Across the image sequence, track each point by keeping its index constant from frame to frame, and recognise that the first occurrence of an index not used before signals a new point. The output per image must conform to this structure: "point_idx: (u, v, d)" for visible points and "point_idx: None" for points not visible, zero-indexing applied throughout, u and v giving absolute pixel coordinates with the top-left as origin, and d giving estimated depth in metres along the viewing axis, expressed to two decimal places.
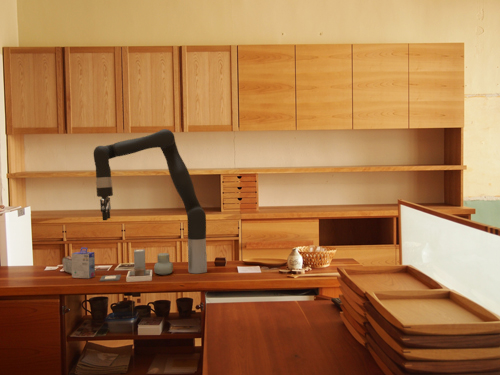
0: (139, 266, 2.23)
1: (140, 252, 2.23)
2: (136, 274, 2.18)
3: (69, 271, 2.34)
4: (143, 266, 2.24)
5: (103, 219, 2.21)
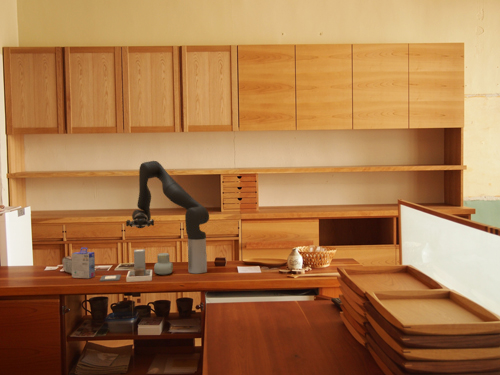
0: (139, 266, 2.23)
1: (140, 252, 2.23)
2: (136, 274, 2.18)
3: (69, 271, 2.34)
4: (143, 266, 2.24)
5: None
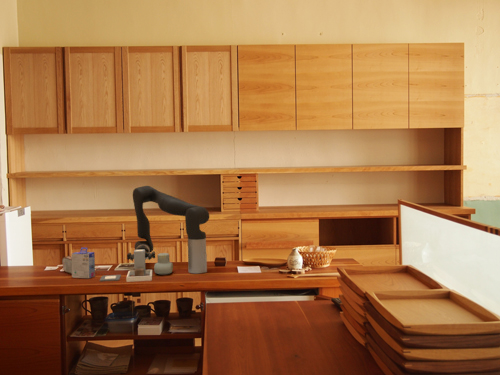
0: (139, 266, 2.23)
1: (140, 252, 2.23)
2: (136, 274, 2.18)
3: (69, 271, 2.34)
4: (143, 266, 2.24)
5: None
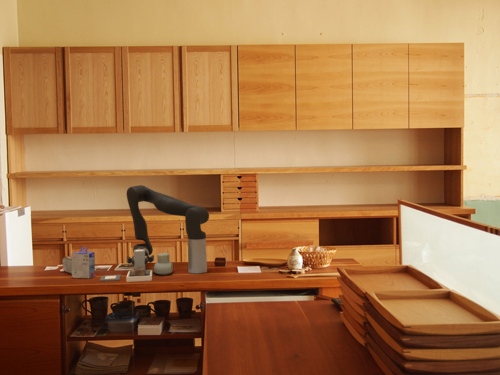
0: (139, 266, 2.23)
1: (140, 252, 2.23)
2: (136, 274, 2.18)
3: (69, 271, 2.34)
4: (143, 266, 2.24)
5: (133, 264, 2.23)
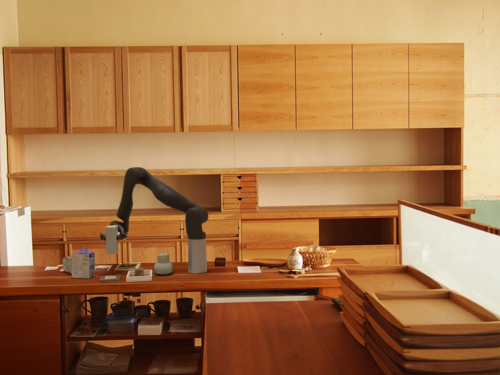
0: (111, 242, 2.20)
1: (112, 228, 2.20)
2: (136, 274, 2.18)
3: (69, 271, 2.34)
4: (115, 242, 2.20)
5: None
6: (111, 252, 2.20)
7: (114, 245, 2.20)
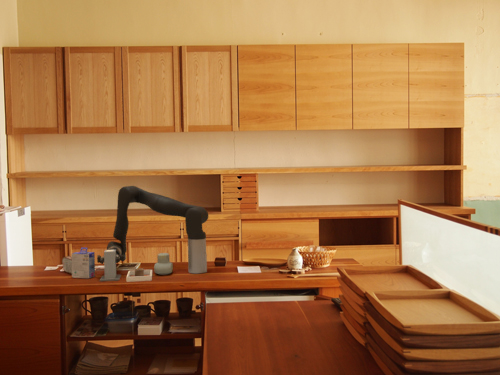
0: (109, 267, 2.20)
1: (110, 252, 2.20)
2: (136, 274, 2.18)
3: (69, 271, 2.34)
4: (113, 267, 2.20)
5: (101, 263, 2.20)
6: (109, 276, 2.20)
7: (112, 270, 2.20)
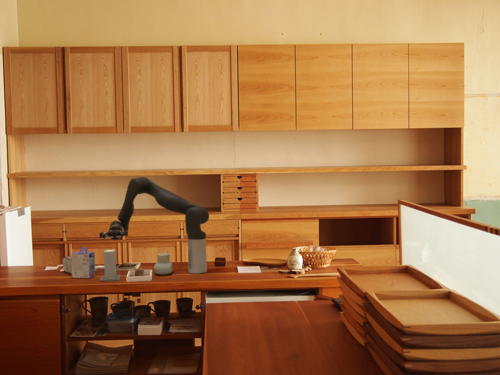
0: (109, 267, 2.20)
1: (110, 252, 2.20)
2: (136, 274, 2.18)
3: (69, 271, 2.34)
4: (113, 267, 2.20)
5: (103, 237, 2.33)
6: (109, 276, 2.20)
7: (112, 270, 2.20)
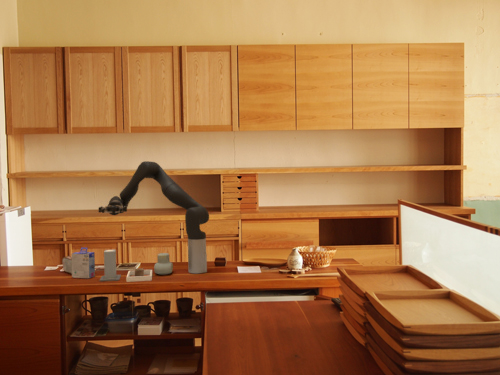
0: (109, 267, 2.20)
1: (110, 252, 2.20)
2: (136, 274, 2.18)
3: (69, 271, 2.34)
4: (113, 267, 2.20)
5: (102, 212, 2.33)
6: (109, 276, 2.20)
7: (112, 270, 2.20)
